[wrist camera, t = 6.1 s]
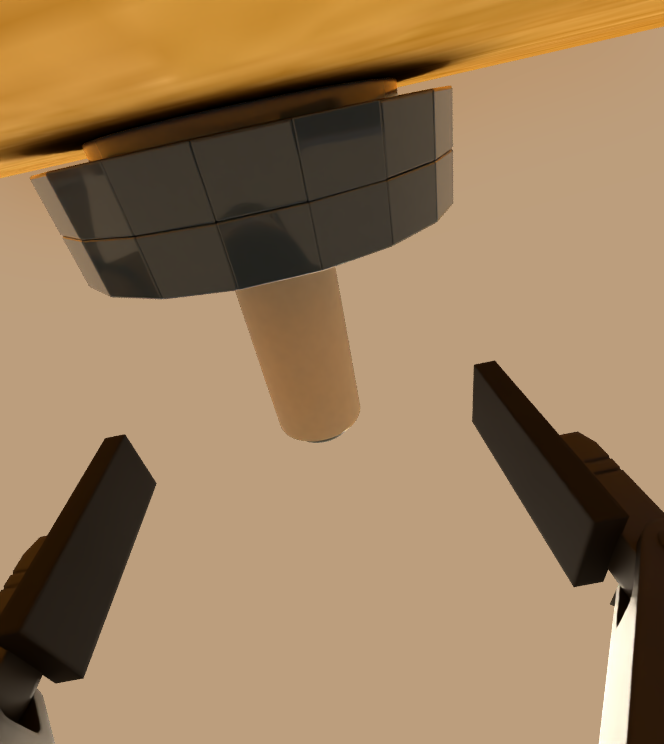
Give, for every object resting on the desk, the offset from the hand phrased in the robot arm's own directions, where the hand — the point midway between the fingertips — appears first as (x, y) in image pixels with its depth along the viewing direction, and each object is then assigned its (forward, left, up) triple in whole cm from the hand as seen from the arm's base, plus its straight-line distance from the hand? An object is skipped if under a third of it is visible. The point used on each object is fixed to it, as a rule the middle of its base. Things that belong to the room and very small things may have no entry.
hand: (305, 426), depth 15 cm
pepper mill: (0, -8, -10) cm, 13 cm away
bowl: (0, -8, -10) cm, 13 cm away
